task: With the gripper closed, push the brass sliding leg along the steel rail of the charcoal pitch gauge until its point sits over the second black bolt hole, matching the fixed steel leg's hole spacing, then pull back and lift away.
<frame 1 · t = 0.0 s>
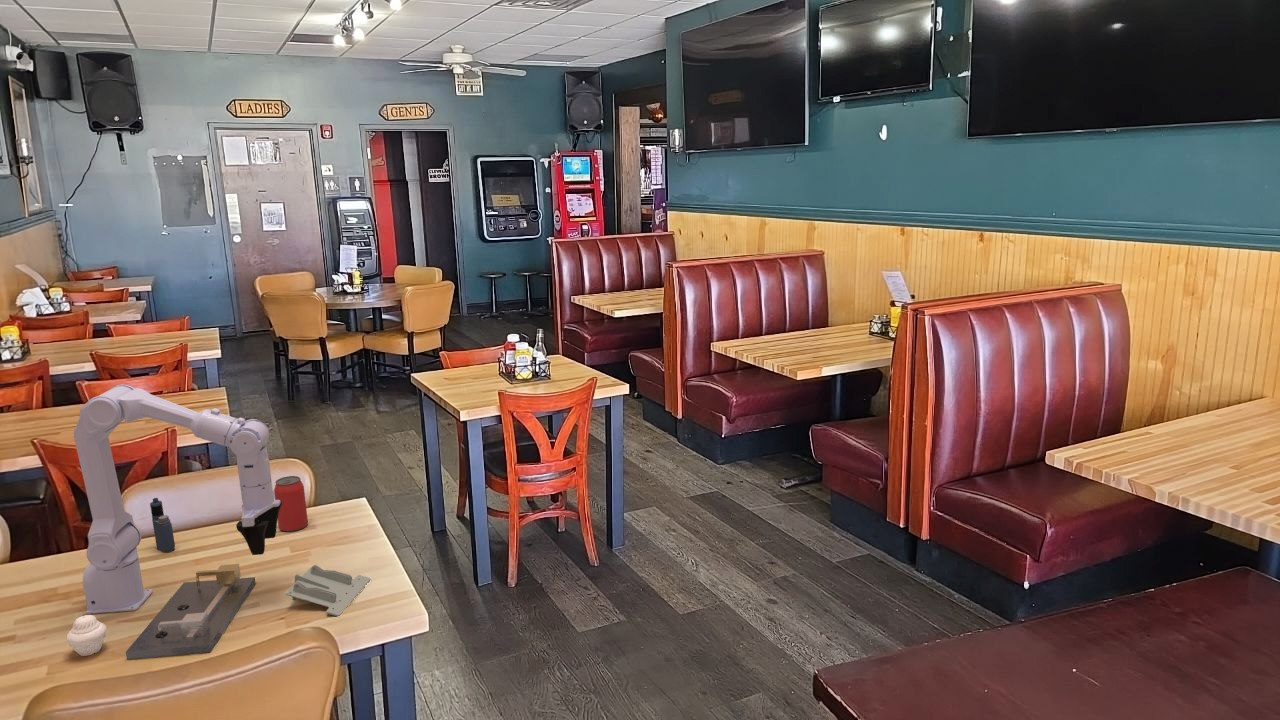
hand: (264, 545, 172), 10 cm above the table, tool pointing down, fingers open, 7 cm apart
beer can: (293, 527, 206), on the table
metal bracket: (327, 599, 172), on the table
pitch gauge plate: (196, 618, 164), on the table
brass slider: (216, 576, 173), point 4 cm above the table, slide at 0.0 cm
muffin: (90, 652, 154), on the table
vaping device: (166, 549, 195), on the table
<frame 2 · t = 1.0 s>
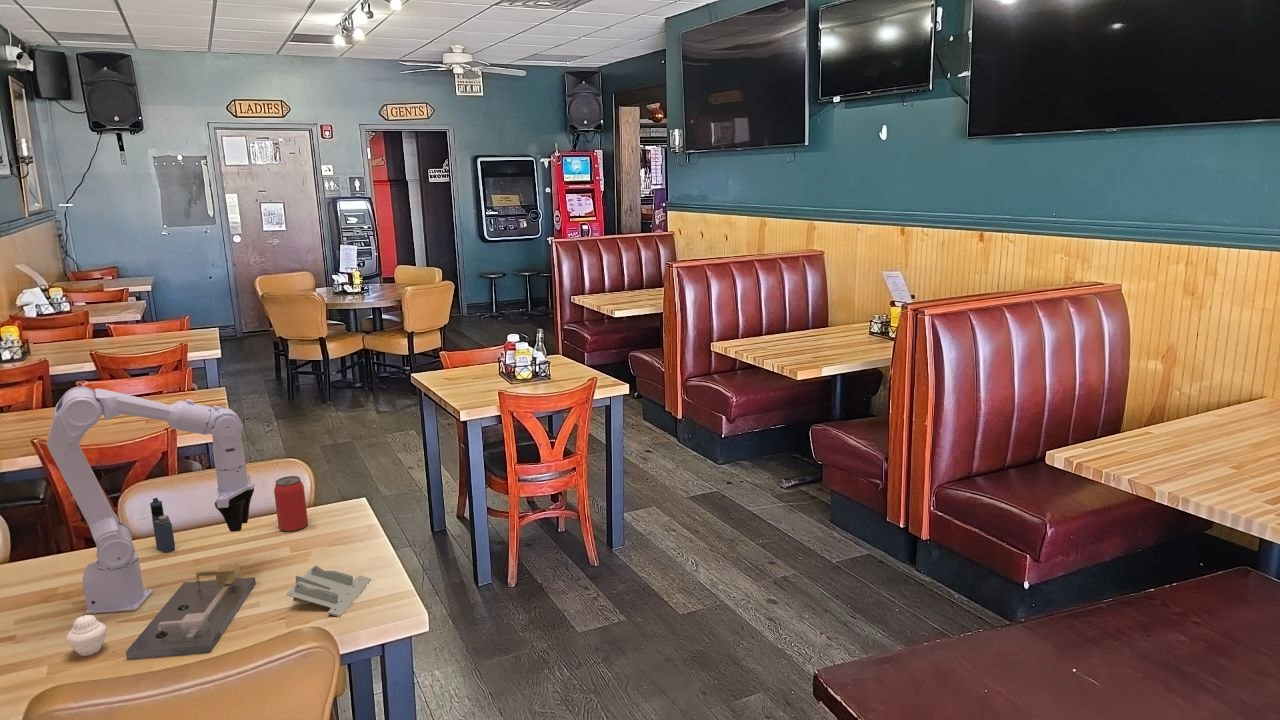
hand: (239, 526, 180), 10 cm above the table, tool pointing down, fingers open, 3 cm apart
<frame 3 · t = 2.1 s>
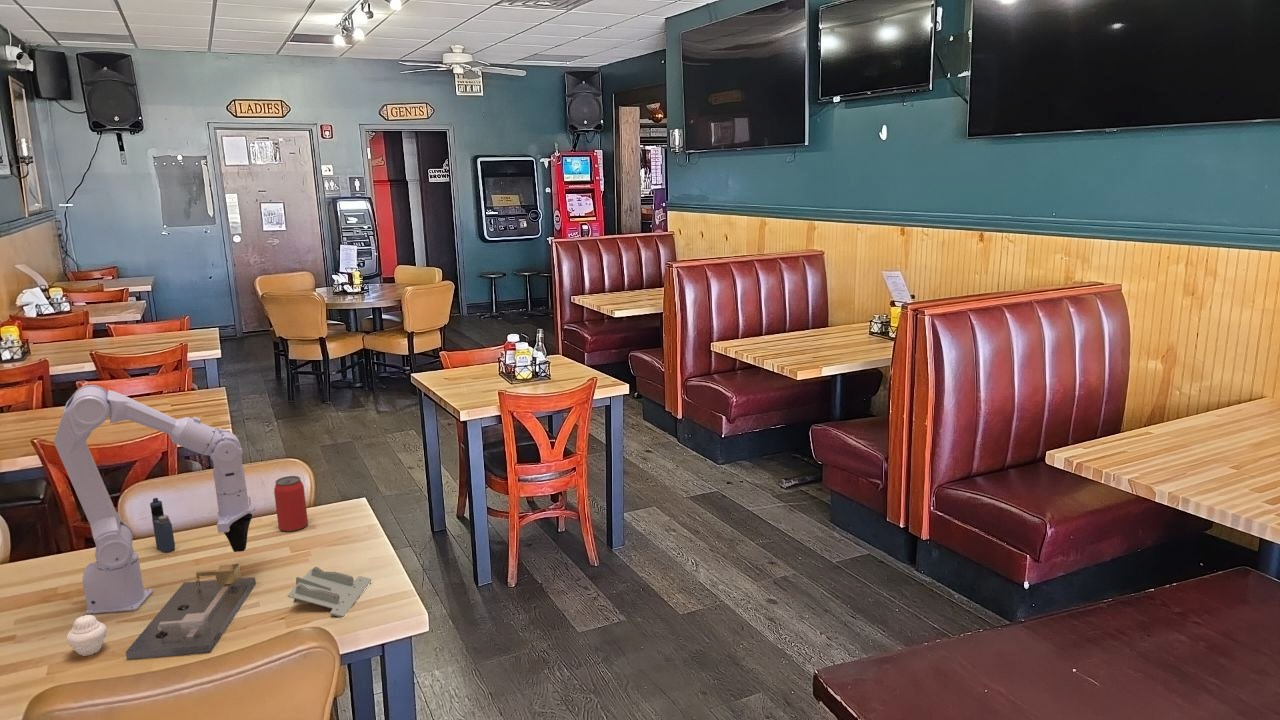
hand: (239, 550, 180), 6 cm above the table, tool pointing down, fingers closed
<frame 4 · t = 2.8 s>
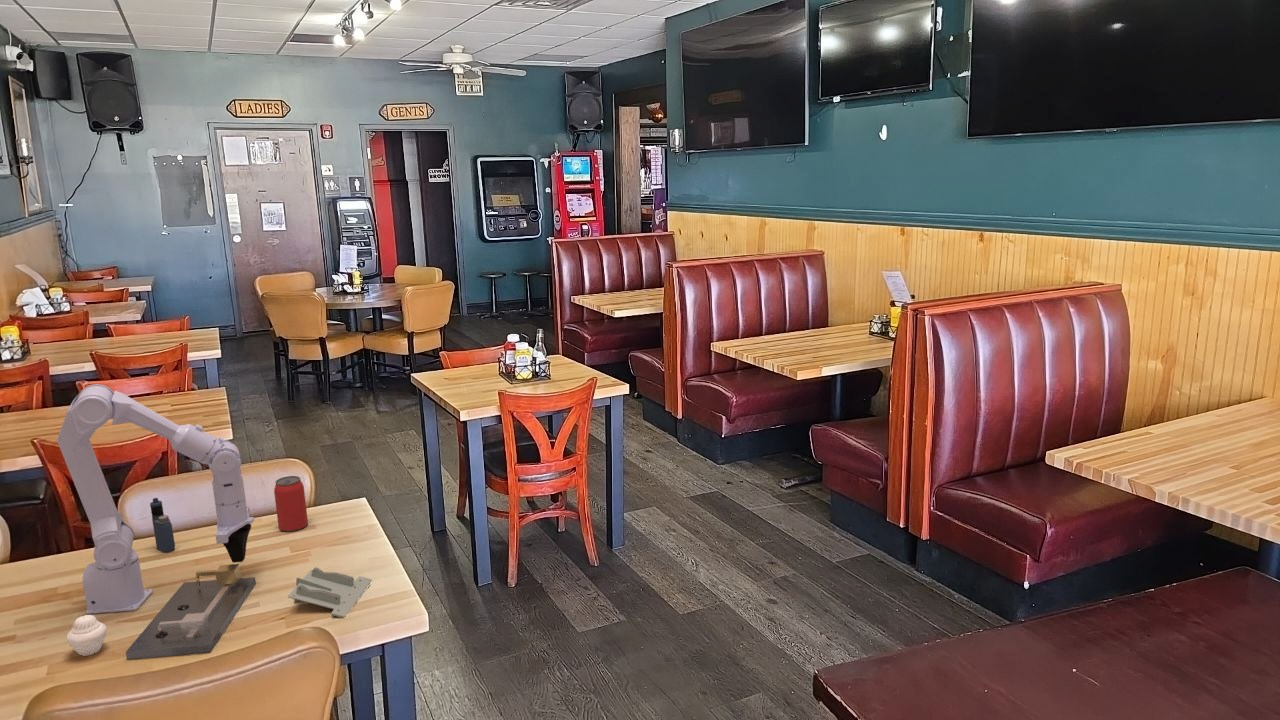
hand: (238, 560, 179), 4 cm above the table, tool pointing down, fingers closed
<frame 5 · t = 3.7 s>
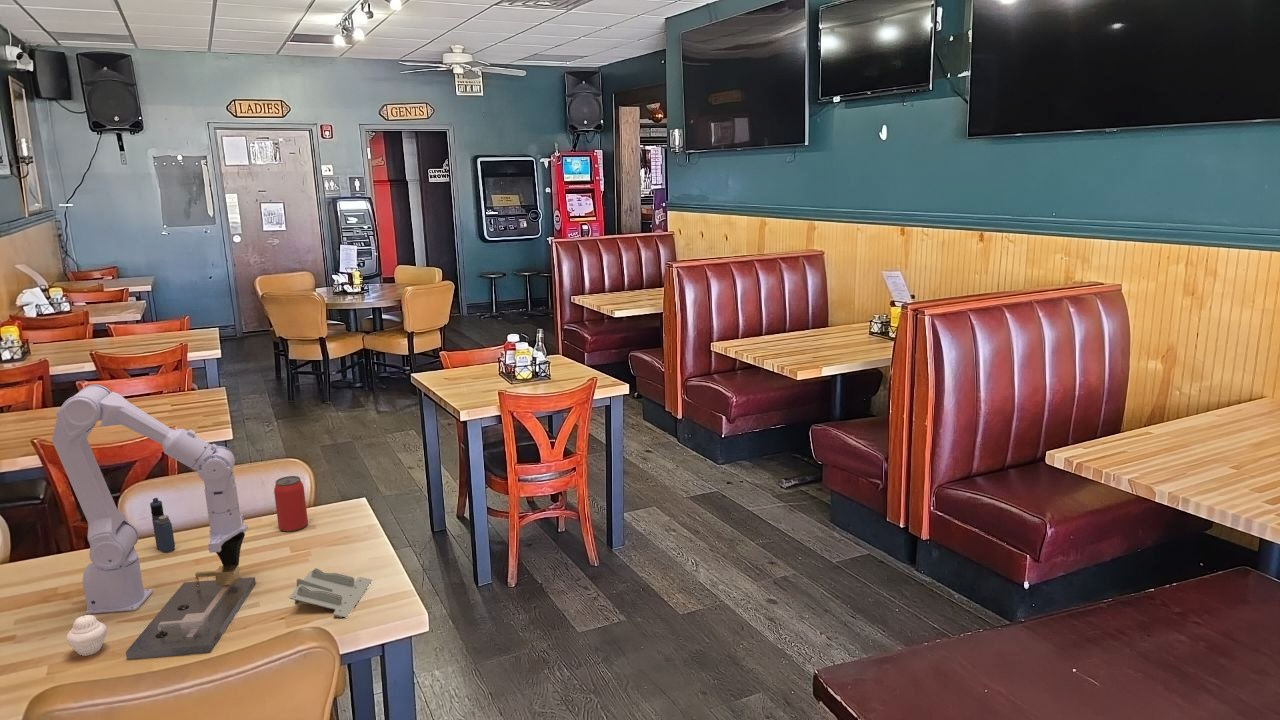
hand: (231, 569, 175), 4 cm above the table, tool pointing down, fingers closed
brass slider: (216, 577, 173), point 4 cm above the table, slide at 0.4 cm, touching gripper
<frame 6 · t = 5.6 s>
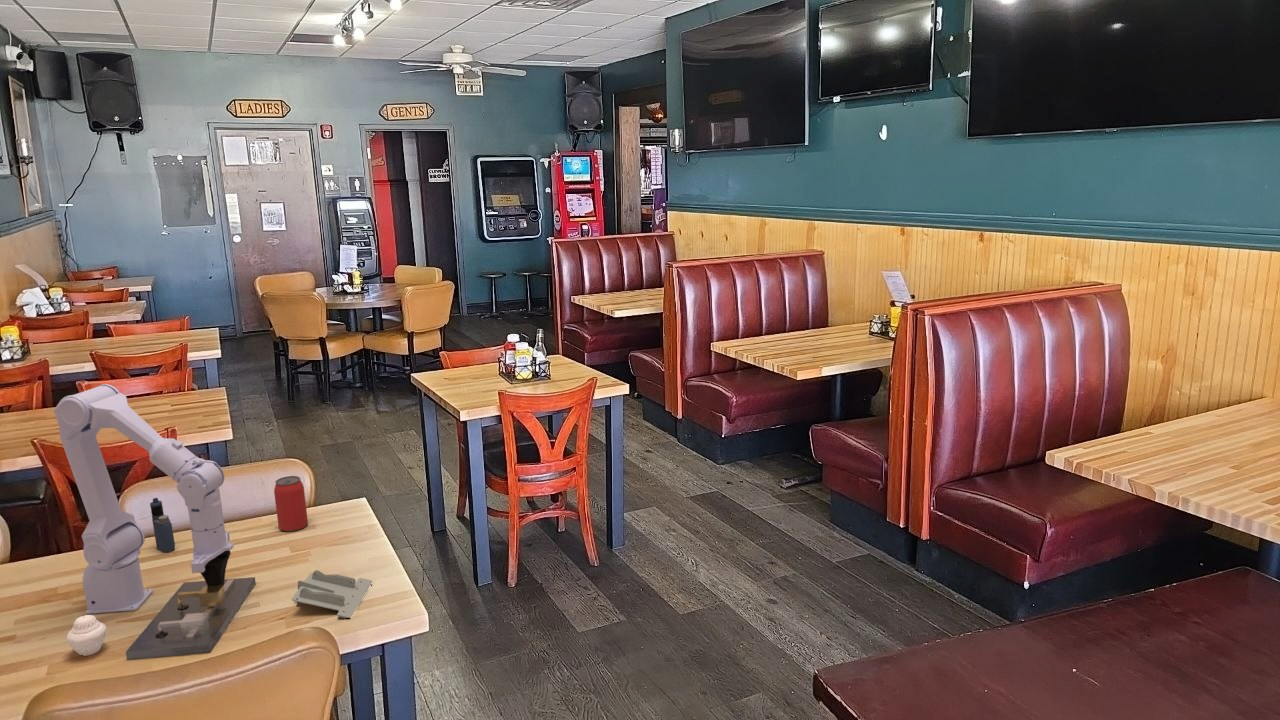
hand: (216, 589, 167), 4 cm above the table, tool pointing down, fingers closed
brass slider: (200, 598, 164), point 4 cm above the table, slide at 9.0 cm, touching gripper
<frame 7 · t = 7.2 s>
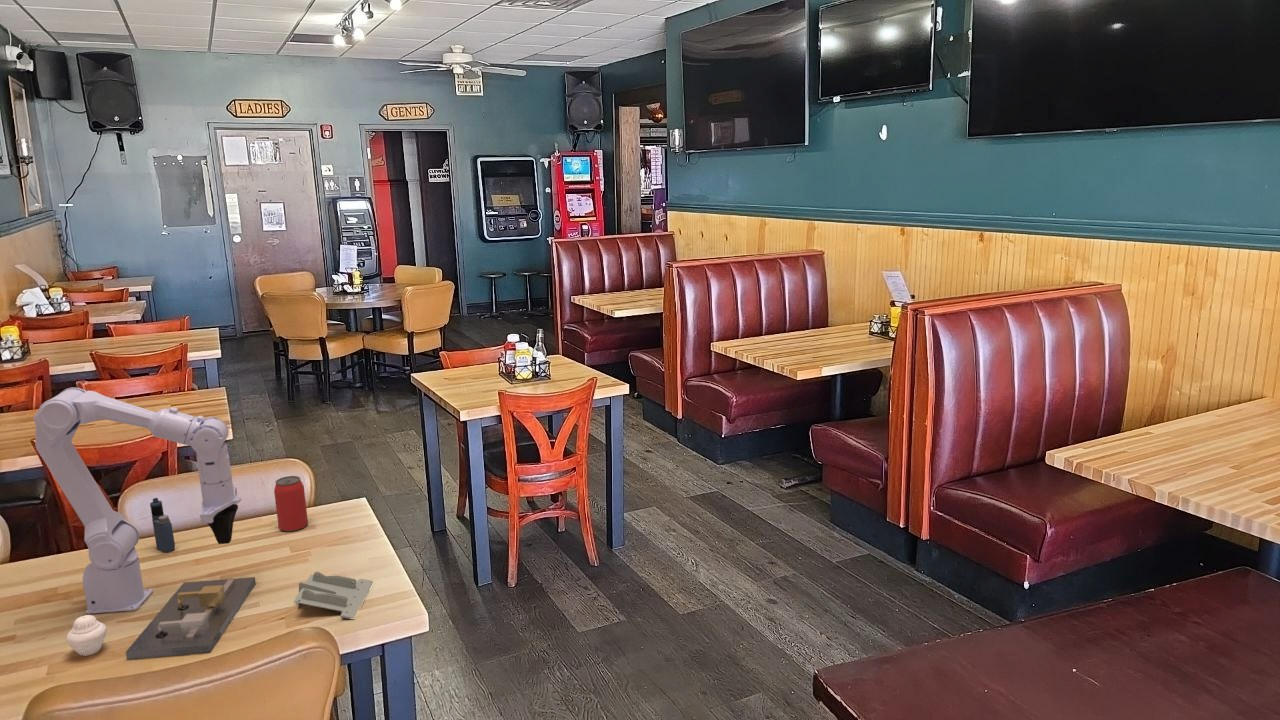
hand: (224, 542, 173), 10 cm above the table, tool pointing down, fingers closed
brass slider: (199, 598, 164), point 4 cm above the table, slide at 9.1 cm
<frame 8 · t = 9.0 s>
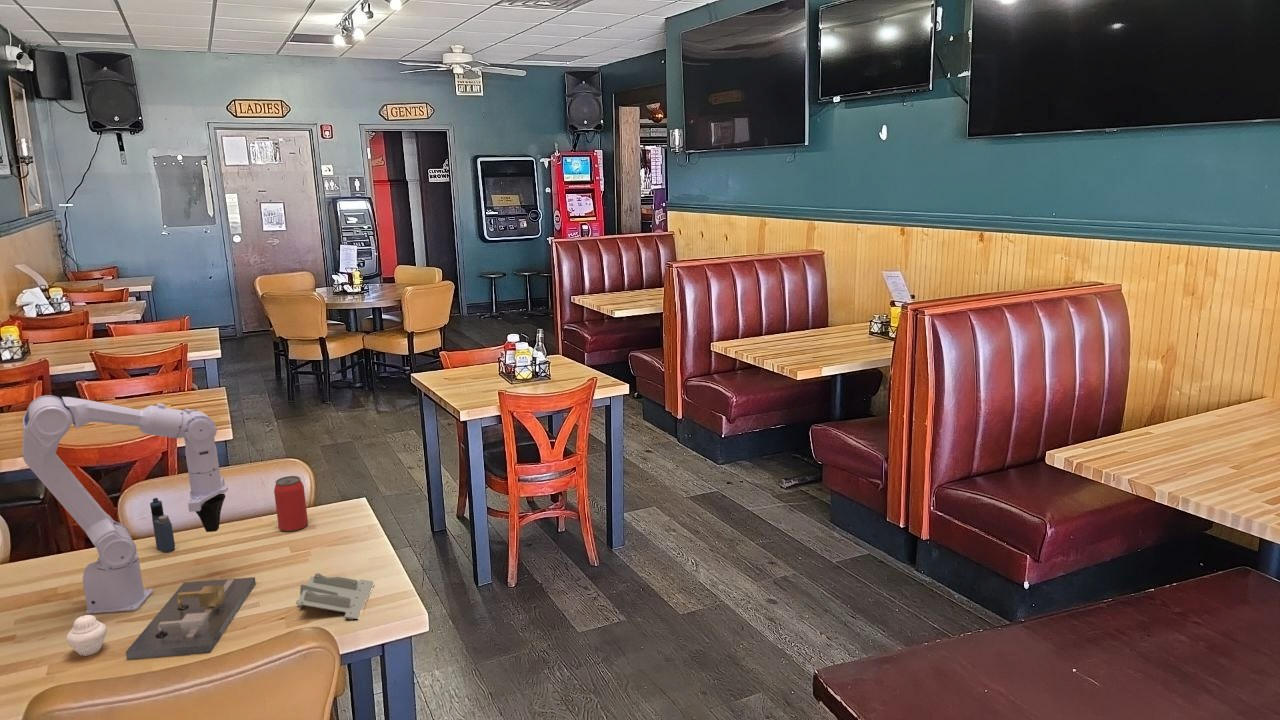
hand: (212, 530, 179), 10 cm above the table, tool pointing down, fingers closed
at the end: brass slider slide at 9.1 cm; the gripper is holding nothing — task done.
